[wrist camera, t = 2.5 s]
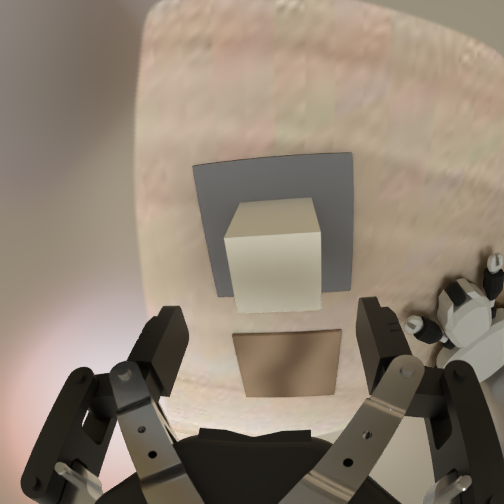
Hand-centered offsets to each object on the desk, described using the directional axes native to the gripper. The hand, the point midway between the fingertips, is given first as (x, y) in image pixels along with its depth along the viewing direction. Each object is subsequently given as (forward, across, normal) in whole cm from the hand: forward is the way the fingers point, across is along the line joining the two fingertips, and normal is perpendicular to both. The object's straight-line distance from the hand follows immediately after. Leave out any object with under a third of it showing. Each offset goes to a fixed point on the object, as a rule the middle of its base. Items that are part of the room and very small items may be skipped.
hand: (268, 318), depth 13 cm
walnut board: (+10, 0, +15) cm, 18 cm away
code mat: (+10, 0, 0) cm, 10 cm away
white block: (+10, 0, 0) cm, 10 cm away
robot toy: (+10, -19, +11) cm, 25 cm away
